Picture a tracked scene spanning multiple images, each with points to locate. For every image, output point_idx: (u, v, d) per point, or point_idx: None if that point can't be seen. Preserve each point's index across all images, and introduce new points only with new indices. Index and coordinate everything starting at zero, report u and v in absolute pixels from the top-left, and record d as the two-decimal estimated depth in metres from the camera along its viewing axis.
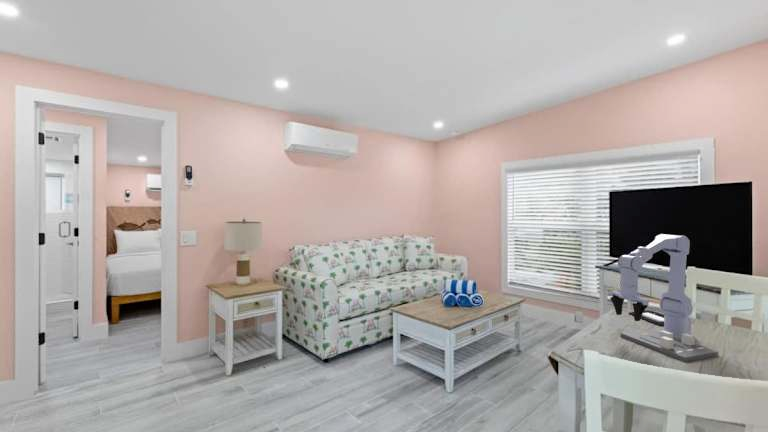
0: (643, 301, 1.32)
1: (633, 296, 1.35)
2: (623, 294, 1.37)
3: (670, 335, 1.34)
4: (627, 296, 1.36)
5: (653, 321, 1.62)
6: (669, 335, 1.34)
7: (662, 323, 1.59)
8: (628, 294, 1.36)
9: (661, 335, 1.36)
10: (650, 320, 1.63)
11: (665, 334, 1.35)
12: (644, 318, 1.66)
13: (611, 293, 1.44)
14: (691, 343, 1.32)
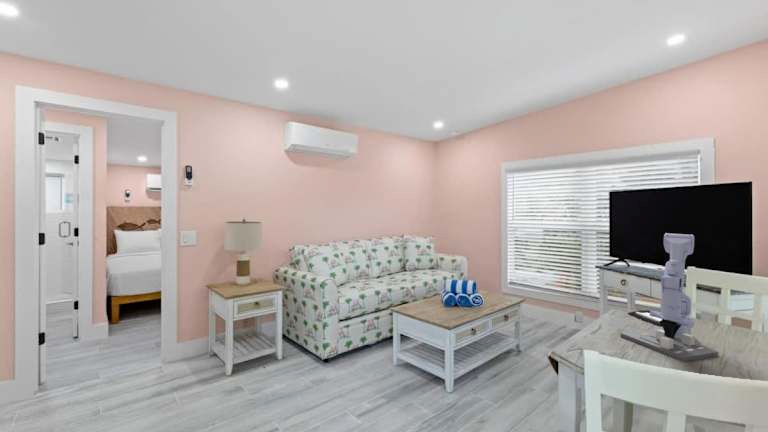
0: (688, 324, 1.28)
1: (676, 318, 1.31)
2: (665, 315, 1.33)
3: None
4: (670, 318, 1.32)
5: (652, 321, 1.62)
6: None
7: None
8: (671, 316, 1.32)
9: (657, 334, 1.38)
10: (649, 320, 1.63)
11: (661, 333, 1.36)
12: (643, 318, 1.66)
13: (651, 313, 1.40)
14: (691, 343, 1.32)
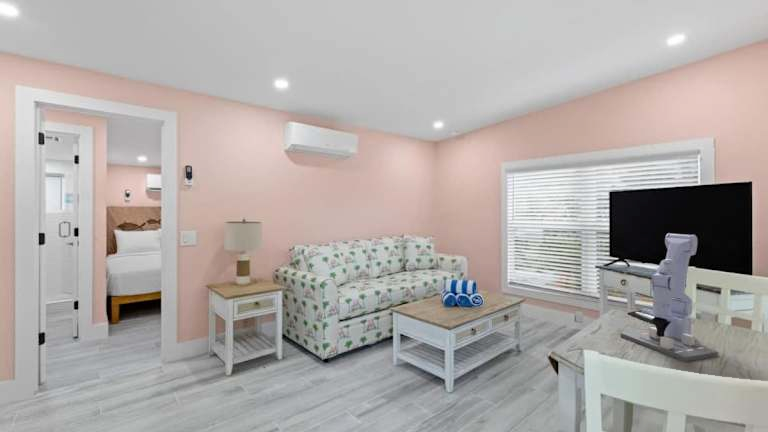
0: (678, 321, 1.31)
1: (667, 315, 1.35)
2: (656, 313, 1.37)
3: None
4: (660, 315, 1.35)
5: (652, 321, 1.62)
6: None
7: None
8: (661, 313, 1.35)
9: (650, 331, 1.40)
10: (649, 320, 1.63)
11: (653, 330, 1.39)
12: (643, 318, 1.66)
13: (642, 311, 1.43)
14: (691, 343, 1.32)
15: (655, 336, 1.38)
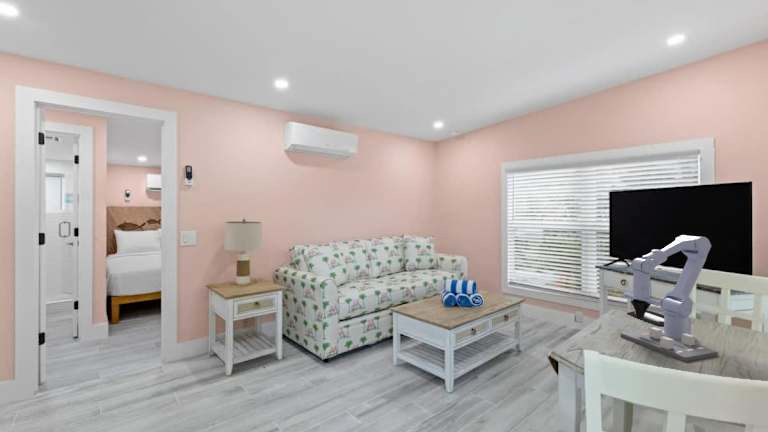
0: (655, 302, 1.39)
1: (645, 297, 1.42)
2: (636, 295, 1.44)
3: (659, 331, 1.38)
4: (640, 297, 1.43)
5: (651, 321, 1.62)
6: (658, 331, 1.38)
7: (660, 323, 1.59)
8: (641, 295, 1.43)
9: (650, 331, 1.40)
10: (648, 320, 1.63)
11: (654, 330, 1.39)
12: (642, 318, 1.66)
13: (624, 294, 1.51)
14: (691, 343, 1.32)
15: (656, 336, 1.38)
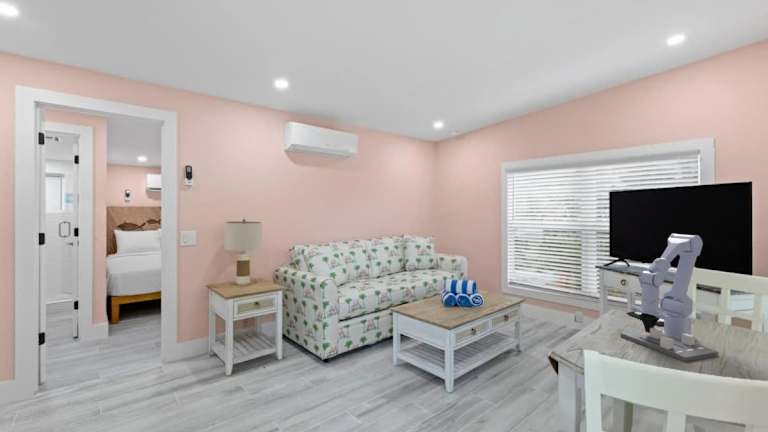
0: (665, 317, 1.35)
1: (654, 311, 1.39)
2: (644, 309, 1.41)
3: (659, 331, 1.38)
4: (648, 311, 1.40)
5: None
6: (658, 331, 1.38)
7: (660, 323, 1.59)
8: (649, 309, 1.40)
9: (651, 331, 1.40)
10: None
11: (654, 330, 1.39)
12: None
13: (632, 308, 1.48)
14: (691, 343, 1.32)
15: (656, 336, 1.38)
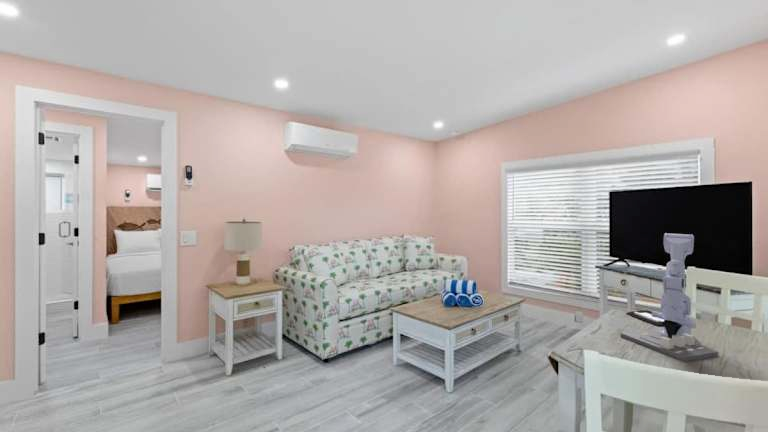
0: (690, 324, 1.27)
1: (678, 318, 1.31)
2: (667, 316, 1.33)
3: (682, 339, 1.30)
4: (672, 318, 1.31)
5: (650, 321, 1.62)
6: (681, 339, 1.30)
7: (659, 323, 1.59)
8: (673, 316, 1.31)
9: None
10: (647, 320, 1.63)
11: (677, 338, 1.31)
12: (642, 318, 1.66)
13: (652, 314, 1.40)
14: (691, 343, 1.32)
15: (679, 345, 1.30)
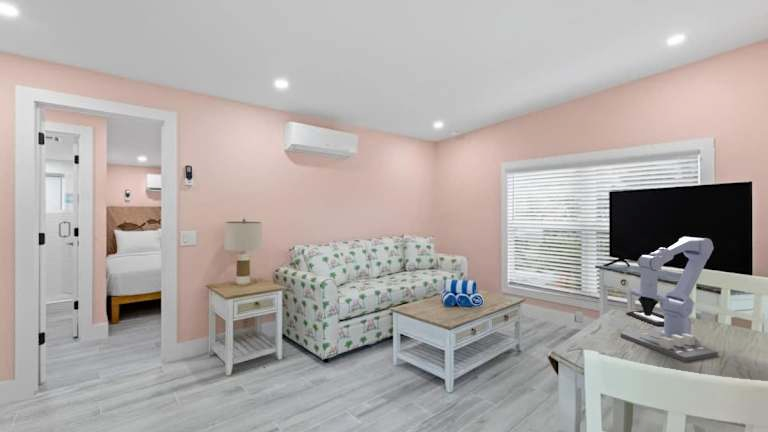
0: (664, 299, 1.37)
1: (653, 295, 1.41)
2: (643, 293, 1.43)
3: (682, 339, 1.30)
4: (647, 295, 1.41)
5: (650, 321, 1.62)
6: (681, 339, 1.30)
7: (659, 323, 1.59)
8: (648, 293, 1.41)
9: None
10: (647, 320, 1.63)
11: (676, 338, 1.31)
12: (641, 318, 1.66)
13: (630, 292, 1.50)
14: (691, 343, 1.32)
15: (678, 344, 1.30)
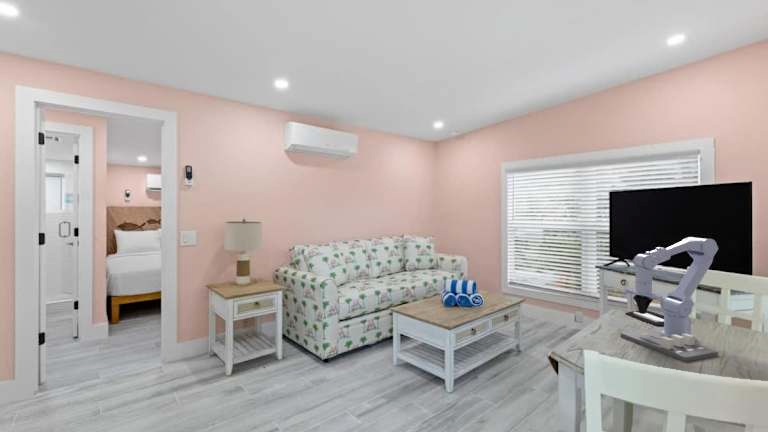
0: (658, 297, 1.40)
1: (648, 293, 1.43)
2: (638, 291, 1.45)
3: (682, 339, 1.30)
4: (642, 293, 1.44)
5: (650, 321, 1.62)
6: (681, 339, 1.30)
7: (659, 323, 1.59)
8: (643, 291, 1.44)
9: None
10: (647, 320, 1.63)
11: (676, 338, 1.31)
12: (641, 318, 1.66)
13: (626, 290, 1.52)
14: (691, 343, 1.32)
15: (678, 344, 1.30)
